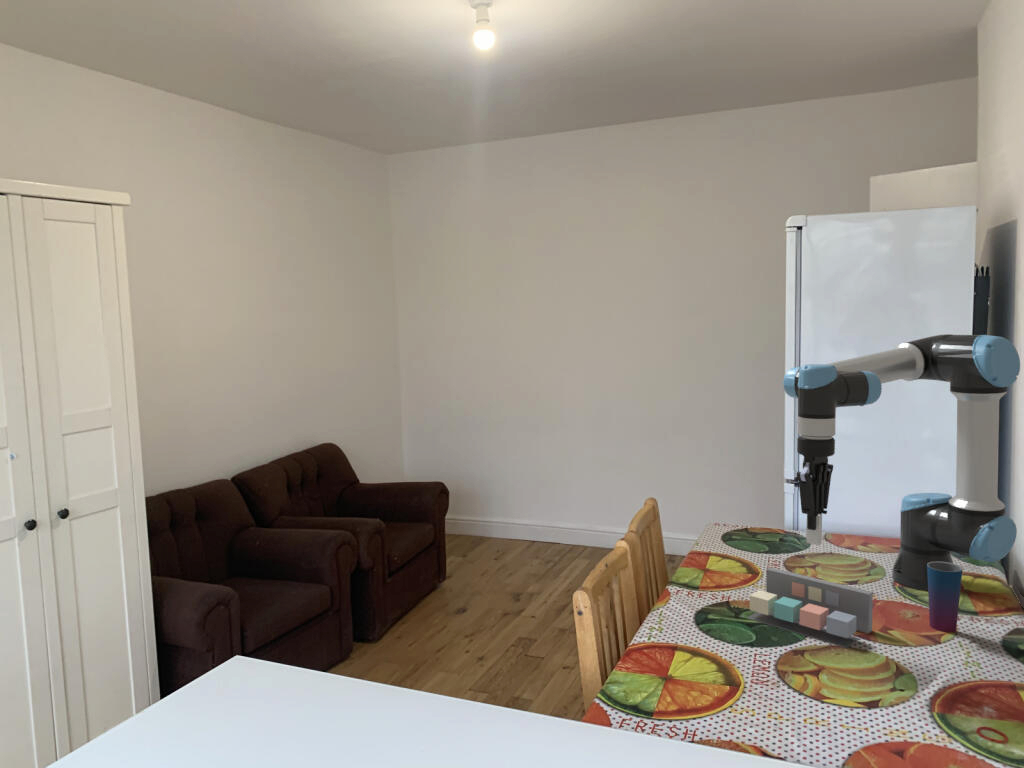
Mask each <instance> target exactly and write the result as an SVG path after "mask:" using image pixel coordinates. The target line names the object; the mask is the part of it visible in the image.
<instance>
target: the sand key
mask: <svg viewBox="0 0 1024 768" xmlns="http://www.w3.org/2000/svg"><path fill="white" fill-rule="evenodd" d="M775 601H777V595H776V594H772V593H768V592H766V590H765V591H764V590H760V589H759V590H757V591H754V593H752V594H750V595H749V611H752V612H755V613H756V612H758V613H762V614H765V615H769V614H771V613H774V602H775Z"/></svg>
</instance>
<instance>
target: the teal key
mask: <svg viewBox="0 0 1024 768" xmlns="http://www.w3.org/2000/svg"><path fill="white" fill-rule="evenodd" d="M801 608H802V601H798V600H794V599H791V598H787V597H782V598H780V599H779V600H777V601H775V602H774V612H773V614H774V617H775V618H779V619H782V620H786V621H789V622H795V621H796V620H797V621H799V620H800V609H801Z"/></svg>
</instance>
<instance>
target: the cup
mask: <svg viewBox="0 0 1024 768" xmlns="http://www.w3.org/2000/svg"><path fill="white" fill-rule="evenodd" d="M953 563H954V562H953ZM953 563H949V562H940V561H935V562H929V563H928V564H927V574H928V590H927V592H928V593H927V594H928V595H927V596H928V615H929V627H930V628H931V629H933V630H936V631H939V632H944V633H947V632H948V633H954V634H955V633H957V625H958V616H959V606H960V596H961V587H962V578H963V567H962V566H960V565H958V564H957V563H954V564H953Z"/></svg>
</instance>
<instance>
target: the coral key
mask: <svg viewBox="0 0 1024 768" xmlns="http://www.w3.org/2000/svg"><path fill="white" fill-rule="evenodd" d="M828 615H829V609H828V608H824V607H821V606H817V605H813V604H807V605H806V606H804V607H802V608H801V609H800V618H799V621H800V625H803V626H806V627H810V628H813V629H817V630H821V629H822V628H826V624H827V616H828Z"/></svg>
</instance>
